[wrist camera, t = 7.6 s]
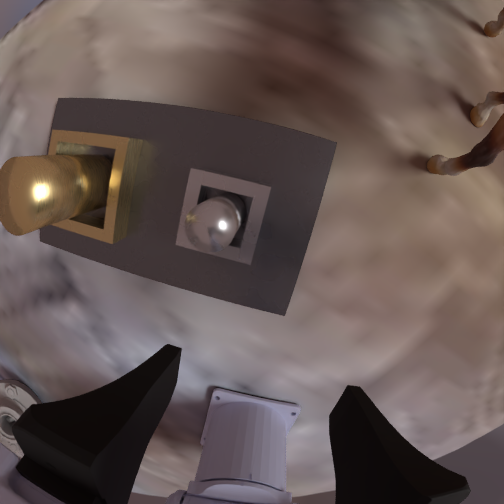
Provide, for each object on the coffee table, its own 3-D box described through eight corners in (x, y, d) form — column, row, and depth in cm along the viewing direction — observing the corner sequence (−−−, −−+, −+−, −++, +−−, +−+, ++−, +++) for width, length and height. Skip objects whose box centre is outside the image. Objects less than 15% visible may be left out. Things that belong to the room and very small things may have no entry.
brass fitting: (112, 213, 19) (37, 243, 11) (71, 204, 19) (-6, 227, 11) (120, 157, 18) (41, 159, 10) (77, 152, 18) (-3, 155, 10)
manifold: (284, 309, 21) (286, 358, 15) (47, 238, 21) (0, 258, 15) (333, 143, 18) (359, 134, 12) (65, 99, 18) (15, 90, 12)
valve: (29, 356, 39) (-19, 394, 30) (8, 372, 23) (-54, 422, 14) (62, 401, 40) (14, 437, 31) (60, 438, 24) (-3, 483, 15)
